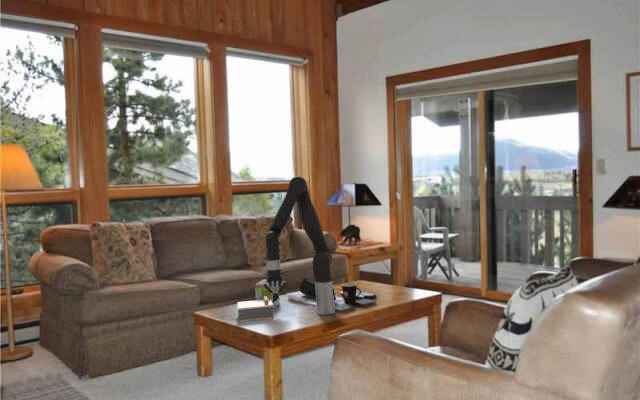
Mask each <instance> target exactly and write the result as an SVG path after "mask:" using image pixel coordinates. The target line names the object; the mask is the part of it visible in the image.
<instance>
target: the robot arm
mask: <svg viewBox="0 0 640 400" xmlns="http://www.w3.org/2000/svg"><path fill="white" fill-rule="evenodd" d="M296 204H297V205H298V206H297V207H298V214H299V216H300V217H299V218H300V221H301V224H302V227H303V230H304V232H305V234H306V236H307V237H308V238H309V241H310V242H311V243H312V245H313V248H314V252H315V254H314V255H313V257H312V269H313V271H312V273H313V277H314V283H315V288H316V299H315V303H316V304H315V305H316V306H315V307H316V314H317V315H320V316H321V315H322V316H325V315H326V316H327V315H332V314H335V313H336V311H335V310H336V308H335V301H334V295H333V289H334V287H333V286H334V285H333V276H332V273H331V269H330V268H331V264H333V254H332V253H331V250H330V248H329V246H328V244H327V242H326V239H325V235H324V233H323V229H322V225H321V223H320V219H319V216H318V213H317V211H316V208H315V206H314V204H313V202H312V200H311V196H310V193H309V189H308V183H307V181H306V179H305V178H303V177H302V176H299V175H298V176H294V177H292V178H291V179H290V181H289V185H288V188H287V192H286V194H285V196H284V199H283V201H282V202H281V204H280V206H279V208H278V210H277V212H276V214H275V216H274V219H273V220H272V223H271V225H270V226H269V228H268V229H267V232H266V234H265V245H266V276H267V277H266V278H267V279H266V280H267V281H266V282H265V283H263V286H264V287H265V288H266V289H267V290H268V291H269V292H270V293H272V294H273V299H274V300H277V299H278V292H279V293H281V292H282V291H283V289H284V288H285V287H286V285H287V282H286V281H284V280H283V277H282V265H281V264H282V263H281V258H280V257H281V255H280V249H279V248H280V242H279V241H280V239H279V238H280V237H281V234H282V231H283V230H284V229H285V227H286V225H287V224H288V221H289V219H290V216H291V215H292V212H293V210H294V207H295V205H296ZM267 283H268V284H269V285H270V286H271V287H272V290H271V289H270V288H269V287H268V284H267ZM278 286H279V289H278ZM274 287H275V289H274Z"/></svg>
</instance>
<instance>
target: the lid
mask: <svg viewBox="0 0 640 400" xmlns="http://www.w3.org/2000/svg"><path fill="white" fill-rule="evenodd" d="M264 307H273V303H272V300H271V299H268V298H267V296H264V300H256V299H255V300H246V301H238V302H237V310H243V309H254V308H264Z"/></svg>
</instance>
